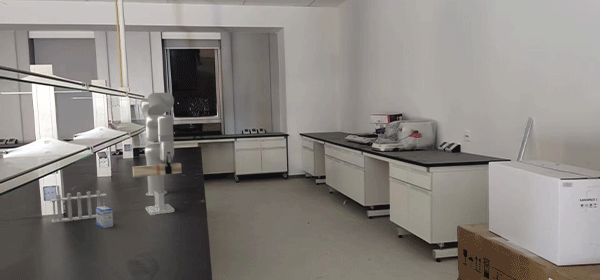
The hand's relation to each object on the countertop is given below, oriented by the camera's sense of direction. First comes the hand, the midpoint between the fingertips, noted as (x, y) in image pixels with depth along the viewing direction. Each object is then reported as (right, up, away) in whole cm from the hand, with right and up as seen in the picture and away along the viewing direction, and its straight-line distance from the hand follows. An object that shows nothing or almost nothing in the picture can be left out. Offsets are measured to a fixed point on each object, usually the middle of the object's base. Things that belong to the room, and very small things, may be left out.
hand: (167, 172), depth 232 cm
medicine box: (-21, -23, -28) cm, 42 cm away
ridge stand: (-4, -20, -1) cm, 20 cm away
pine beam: (-4, -1, -3) cm, 5 cm away
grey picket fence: (-39, -22, -14) cm, 47 cm away
